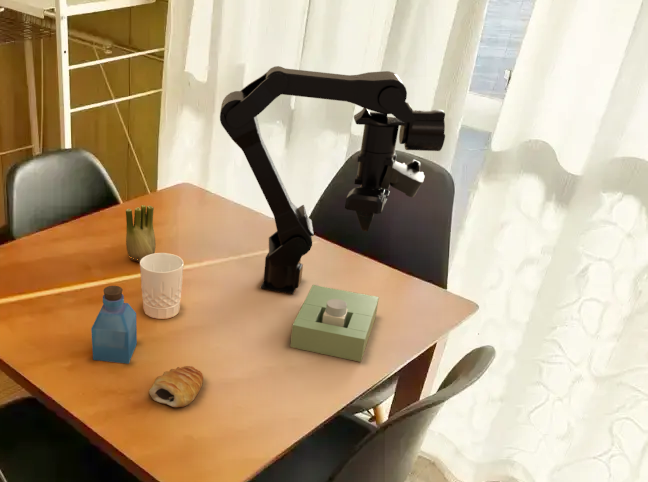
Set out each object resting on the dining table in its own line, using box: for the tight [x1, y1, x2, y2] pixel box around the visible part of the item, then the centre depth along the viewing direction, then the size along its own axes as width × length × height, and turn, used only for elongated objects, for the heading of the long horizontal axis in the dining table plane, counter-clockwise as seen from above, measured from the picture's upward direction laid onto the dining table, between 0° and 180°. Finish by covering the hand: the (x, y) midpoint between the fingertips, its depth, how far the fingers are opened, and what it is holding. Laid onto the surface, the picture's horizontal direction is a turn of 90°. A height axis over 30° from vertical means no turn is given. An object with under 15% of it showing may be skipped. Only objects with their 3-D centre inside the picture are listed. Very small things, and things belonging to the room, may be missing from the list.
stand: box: [289, 284, 380, 363], centre depth 131 cm, size 12×15×4 cm
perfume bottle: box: [90, 285, 138, 365], centre depth 124 cm, size 6×6×12 cm
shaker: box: [322, 299, 348, 328], centre depth 129 cm, size 7×4×4 cm
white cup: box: [139, 252, 185, 320], centre depth 137 cm, size 8×8×10 cm
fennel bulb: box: [125, 204, 157, 263], centre depth 154 cm, size 6×5×12 cm
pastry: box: [148, 365, 204, 408], centre depth 117 cm, size 9×7×4 cm
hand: (365, 230), depth 139 cm, fingers closed
